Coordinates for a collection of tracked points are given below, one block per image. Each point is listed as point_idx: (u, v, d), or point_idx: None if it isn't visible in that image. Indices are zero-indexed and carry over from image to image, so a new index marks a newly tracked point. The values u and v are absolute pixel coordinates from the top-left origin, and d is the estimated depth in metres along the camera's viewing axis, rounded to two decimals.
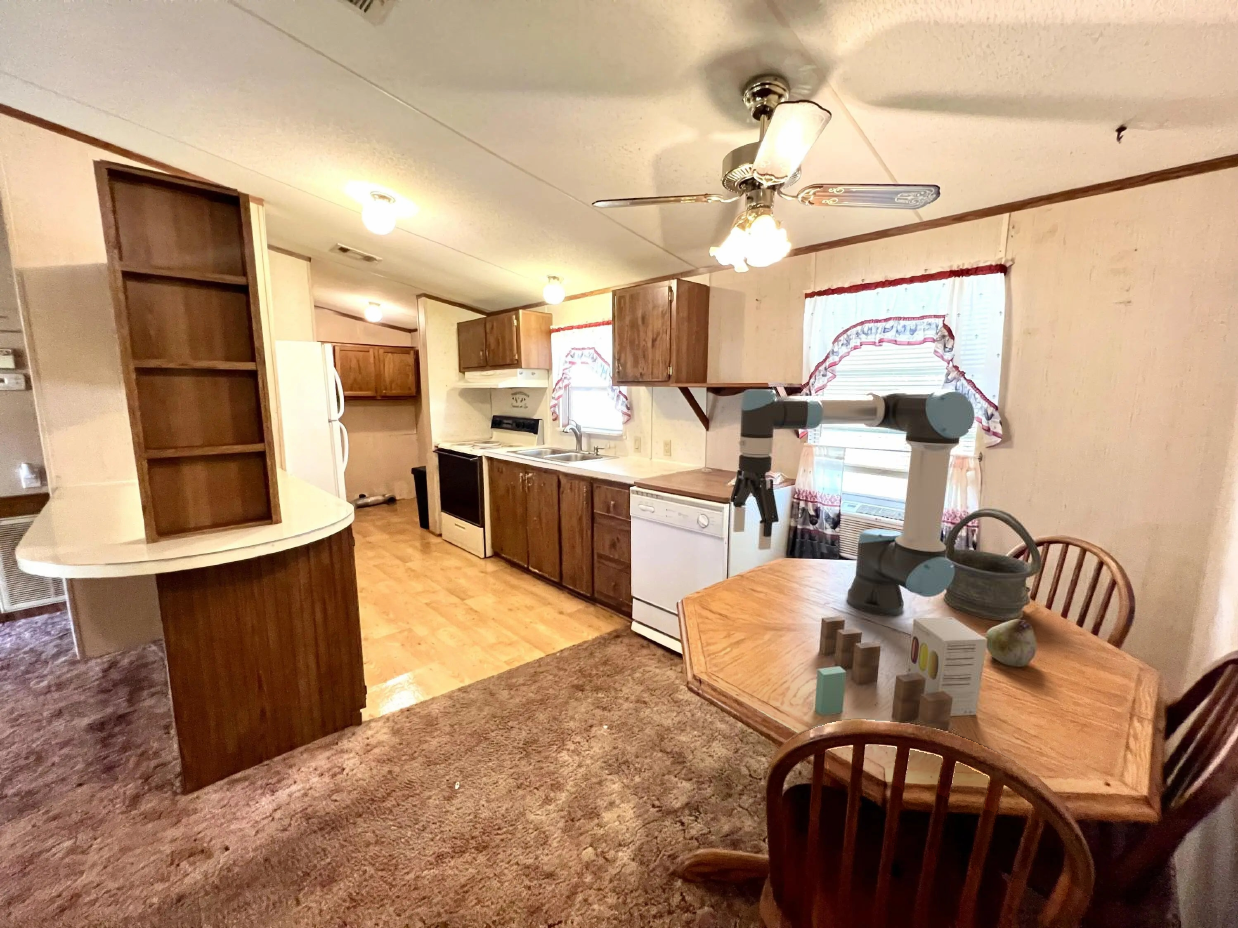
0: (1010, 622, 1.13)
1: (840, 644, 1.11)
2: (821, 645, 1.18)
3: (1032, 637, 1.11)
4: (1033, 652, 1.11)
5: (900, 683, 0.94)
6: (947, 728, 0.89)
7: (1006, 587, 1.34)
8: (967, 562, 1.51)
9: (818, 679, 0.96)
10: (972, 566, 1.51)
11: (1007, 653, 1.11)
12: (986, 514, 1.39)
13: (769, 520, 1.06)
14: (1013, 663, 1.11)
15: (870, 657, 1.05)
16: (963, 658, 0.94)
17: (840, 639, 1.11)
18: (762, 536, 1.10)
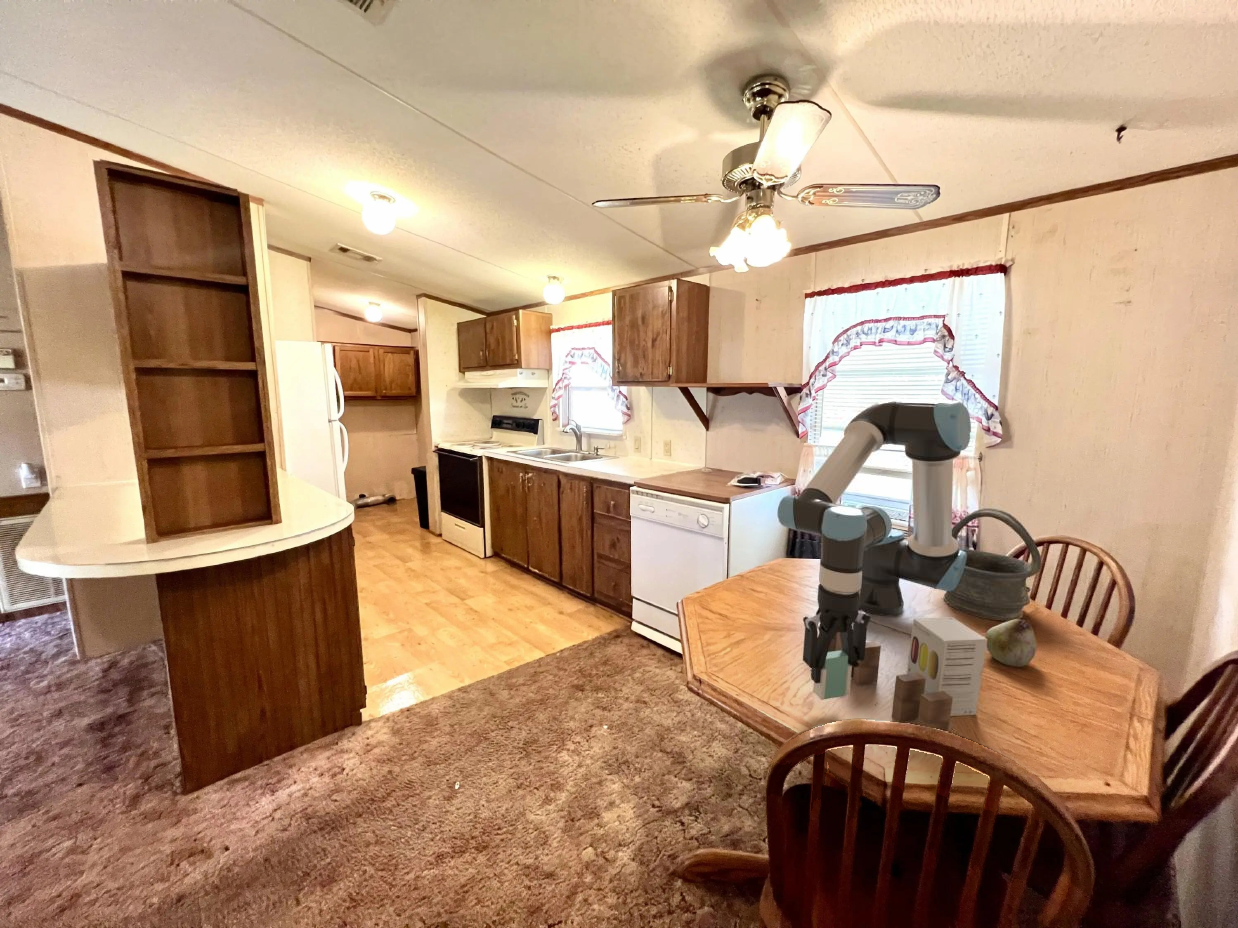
0: (1010, 622, 1.13)
1: (840, 644, 1.11)
2: None
3: (1032, 637, 1.11)
4: (1033, 652, 1.11)
5: (900, 683, 0.94)
6: (947, 728, 0.89)
7: (1006, 587, 1.34)
8: (967, 562, 1.51)
9: None
10: (972, 566, 1.51)
11: (1007, 653, 1.11)
12: (985, 514, 1.39)
13: (803, 660, 0.96)
14: (1013, 662, 1.11)
15: (870, 657, 1.05)
16: (963, 658, 0.94)
17: None
18: None
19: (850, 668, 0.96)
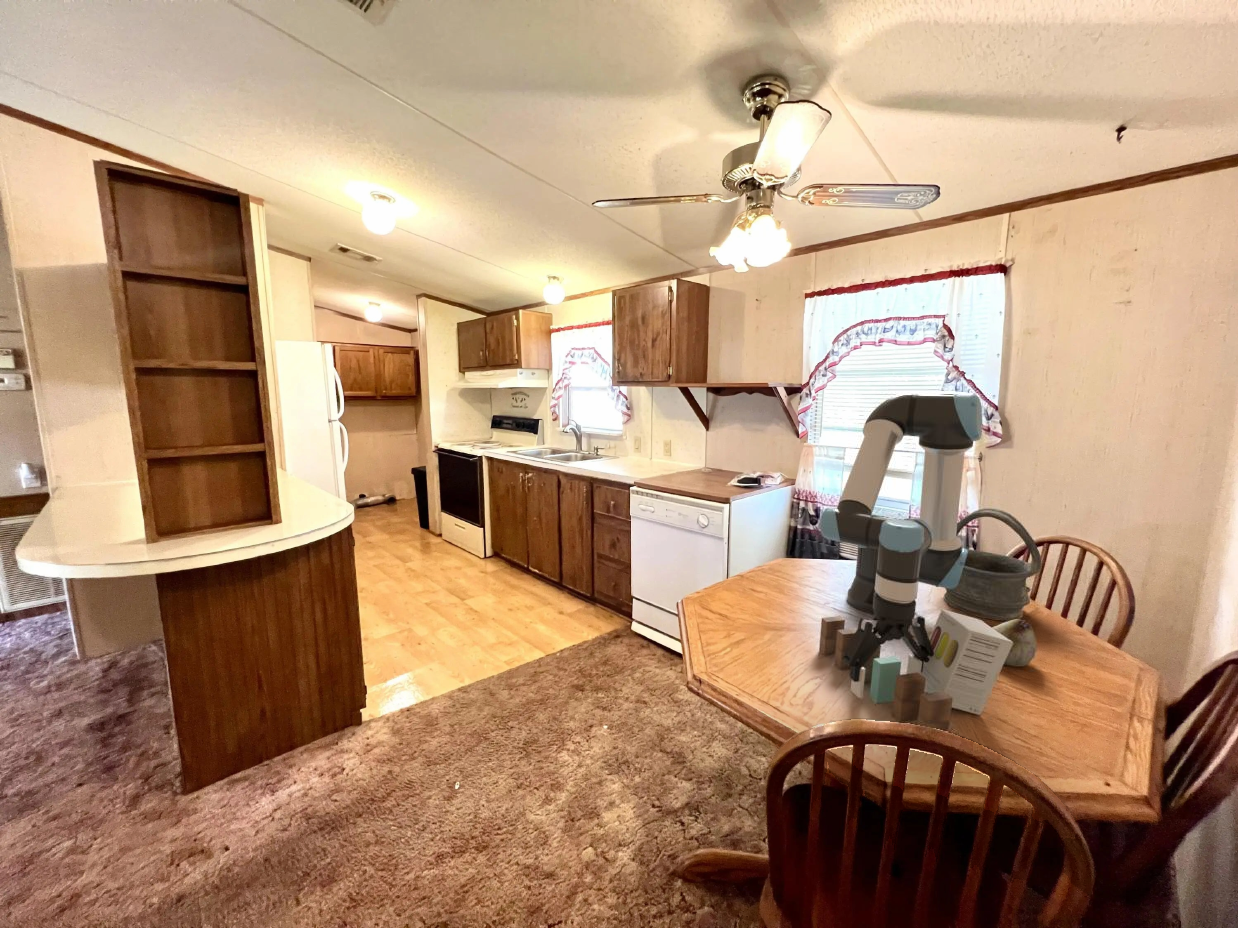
0: (1010, 622, 1.13)
1: (840, 644, 1.11)
2: (821, 645, 1.18)
3: (1032, 637, 1.11)
4: (1033, 652, 1.11)
5: (900, 683, 0.94)
6: (947, 728, 0.89)
7: (1006, 587, 1.34)
8: (967, 562, 1.51)
9: (874, 668, 1.00)
10: (972, 566, 1.51)
11: None
12: (986, 514, 1.39)
13: (842, 658, 0.99)
14: (1013, 662, 1.11)
15: (870, 657, 1.05)
16: (984, 654, 0.94)
17: (840, 639, 1.11)
18: None
19: (920, 663, 1.00)
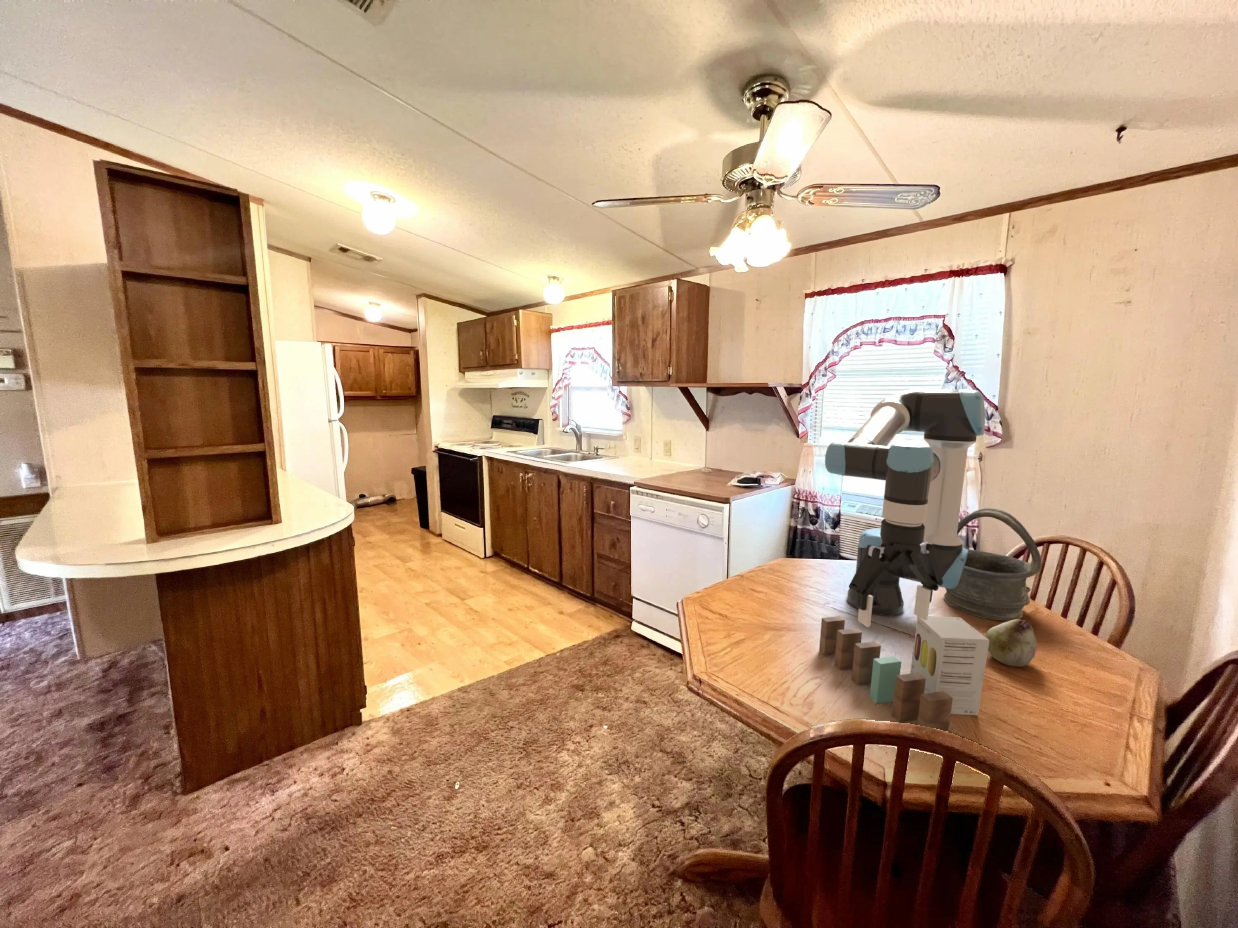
0: (1010, 622, 1.13)
1: (840, 644, 1.11)
2: (821, 645, 1.18)
3: (1032, 637, 1.11)
4: (1033, 652, 1.11)
5: (900, 683, 0.94)
6: (947, 728, 0.89)
7: (1006, 587, 1.34)
8: (967, 562, 1.51)
9: (874, 668, 1.00)
10: (972, 566, 1.51)
11: (1007, 653, 1.11)
12: (986, 514, 1.39)
13: (849, 586, 0.96)
14: (1013, 663, 1.11)
15: (870, 657, 1.05)
16: (963, 657, 0.94)
17: (840, 639, 1.11)
18: None
19: (929, 592, 0.98)
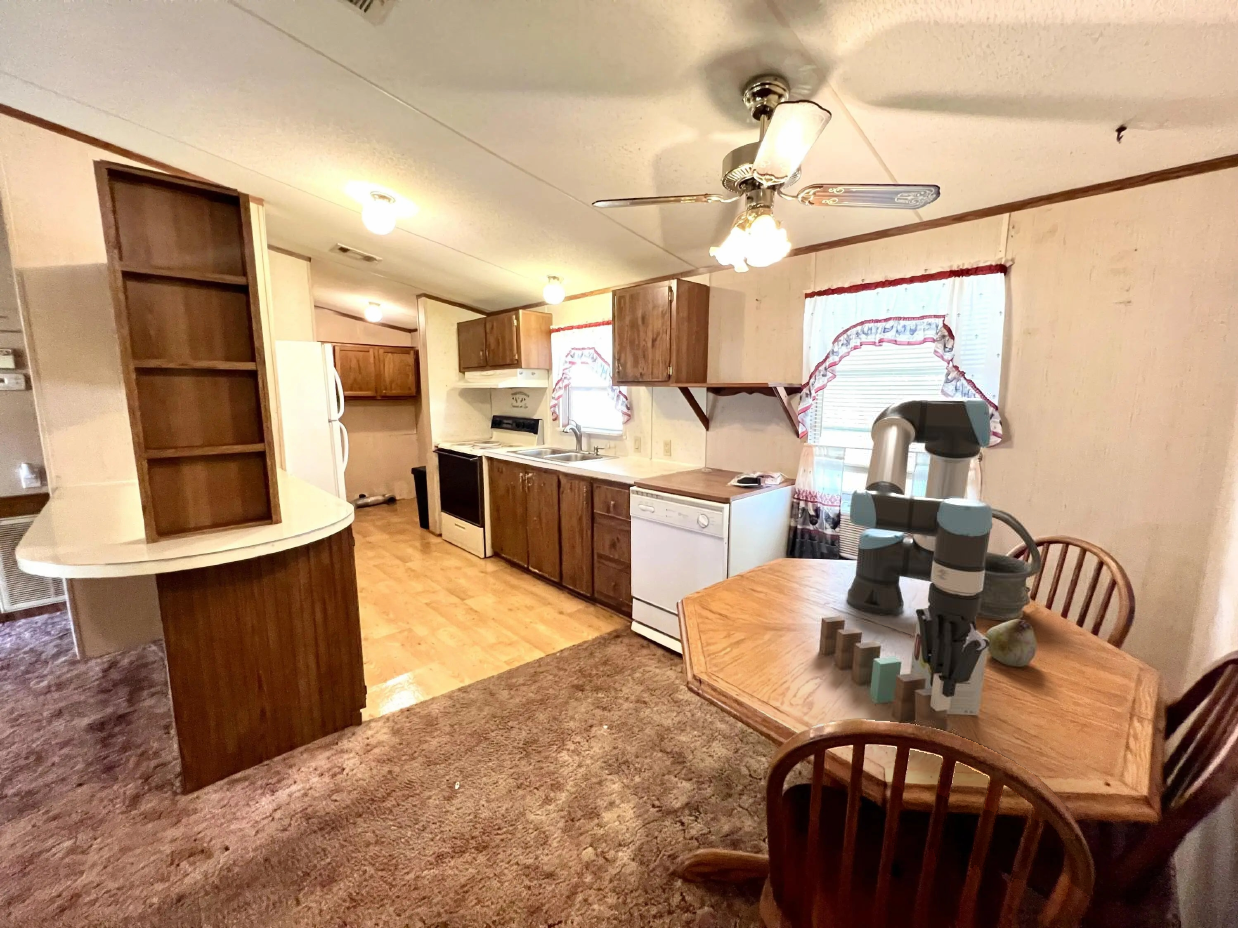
0: (1010, 622, 1.13)
1: (840, 644, 1.11)
2: (821, 645, 1.18)
3: (1032, 637, 1.11)
4: (1033, 652, 1.11)
5: (900, 683, 0.94)
6: (945, 725, 0.89)
7: (1006, 587, 1.34)
8: None
9: (874, 668, 1.00)
10: None
11: (1007, 653, 1.11)
12: None
13: (957, 682, 0.83)
14: (1013, 663, 1.11)
15: (870, 657, 1.05)
16: None
17: (840, 639, 1.11)
18: (941, 694, 0.87)
19: None
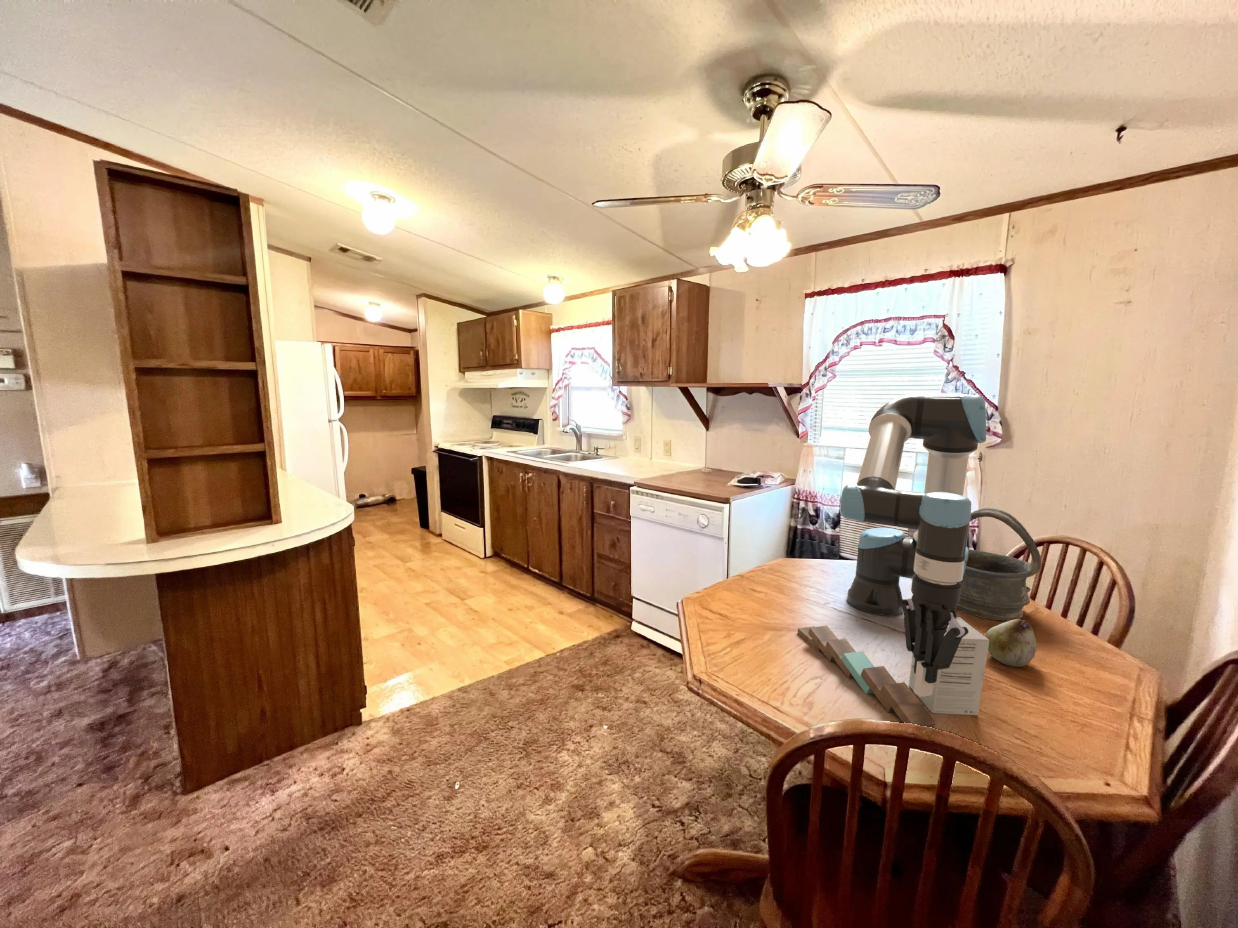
0: (1010, 622, 1.13)
1: (816, 637, 1.20)
2: (813, 646, 1.21)
3: (1032, 637, 1.11)
4: (1033, 652, 1.11)
5: (865, 675, 1.03)
6: (925, 710, 0.94)
7: (1006, 587, 1.34)
8: (967, 562, 1.51)
9: (847, 665, 1.09)
10: (972, 566, 1.51)
11: (1007, 653, 1.11)
12: (985, 514, 1.39)
13: (938, 668, 0.87)
14: (1013, 662, 1.11)
15: (843, 647, 1.14)
16: (963, 657, 0.94)
17: (813, 634, 1.21)
18: (923, 681, 0.90)
19: None
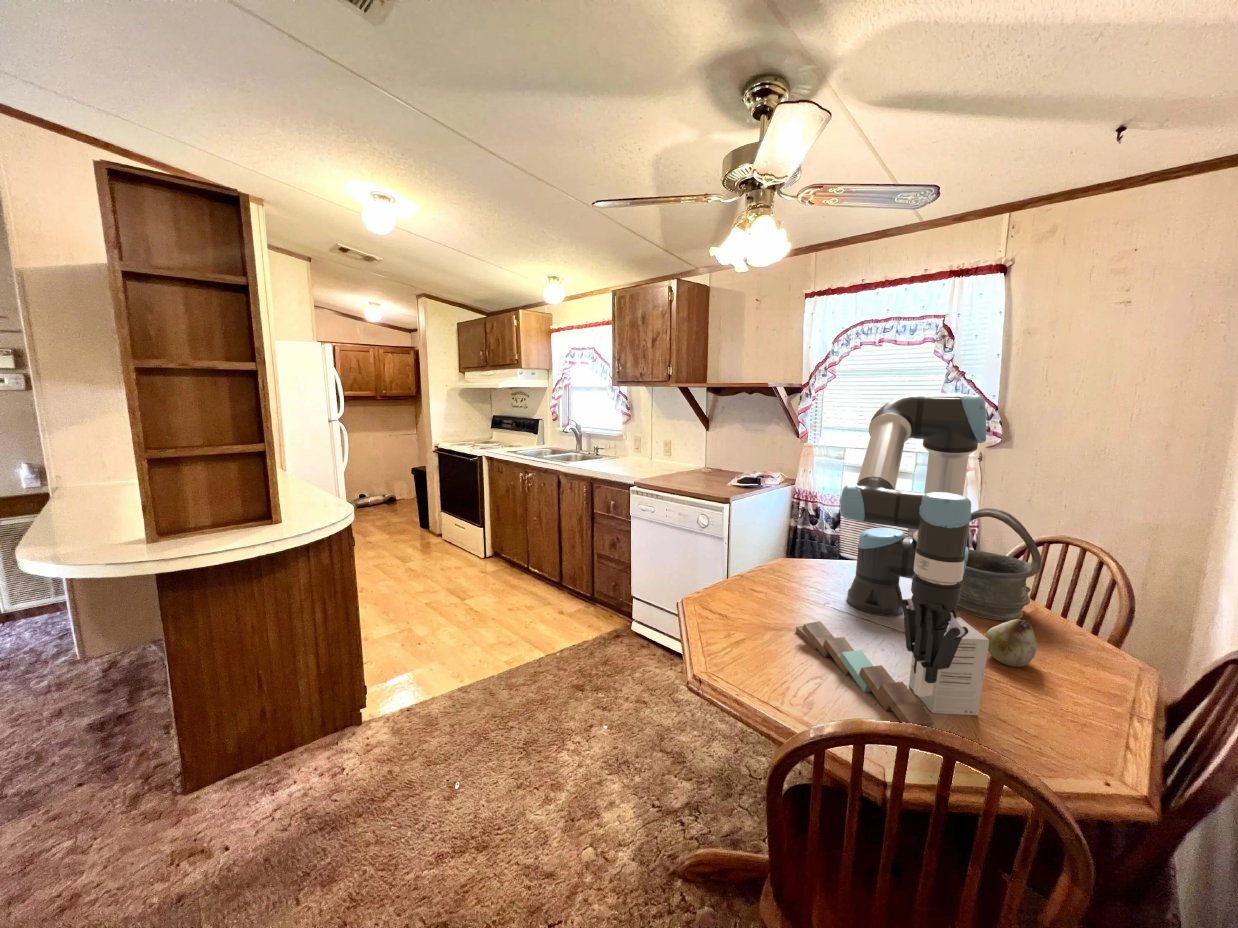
0: (1010, 622, 1.13)
1: (810, 634, 1.21)
2: (811, 644, 1.22)
3: (1032, 637, 1.11)
4: (1033, 652, 1.11)
5: (863, 674, 1.04)
6: (923, 709, 0.94)
7: (1006, 587, 1.34)
8: (968, 562, 1.51)
9: (845, 664, 1.09)
10: (972, 566, 1.51)
11: (1007, 653, 1.11)
12: (986, 514, 1.39)
13: (938, 668, 0.87)
14: (1013, 663, 1.11)
15: (841, 645, 1.15)
16: (963, 657, 0.94)
17: (807, 630, 1.22)
18: (923, 681, 0.90)
19: None
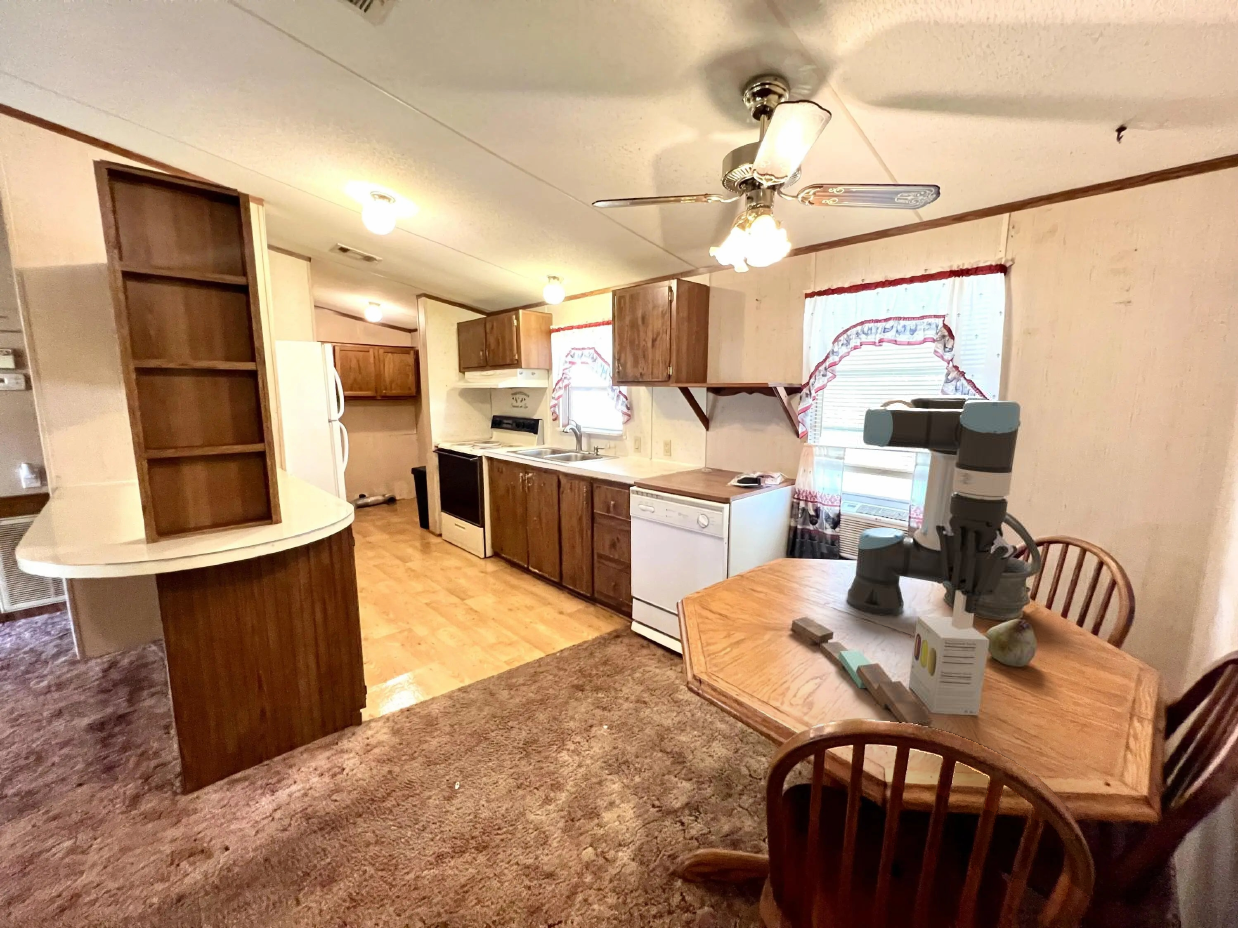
0: (1010, 622, 1.13)
1: (800, 627, 1.26)
2: (806, 640, 1.24)
3: (1032, 637, 1.11)
4: (1033, 652, 1.11)
5: (860, 672, 1.04)
6: (921, 708, 0.94)
7: (1006, 587, 1.34)
8: None
9: (843, 662, 1.11)
10: None
11: (1007, 653, 1.11)
12: None
13: (981, 595, 0.78)
14: (1013, 662, 1.11)
15: (835, 647, 1.18)
16: (963, 657, 0.94)
17: (797, 625, 1.27)
18: (963, 612, 0.81)
19: None
